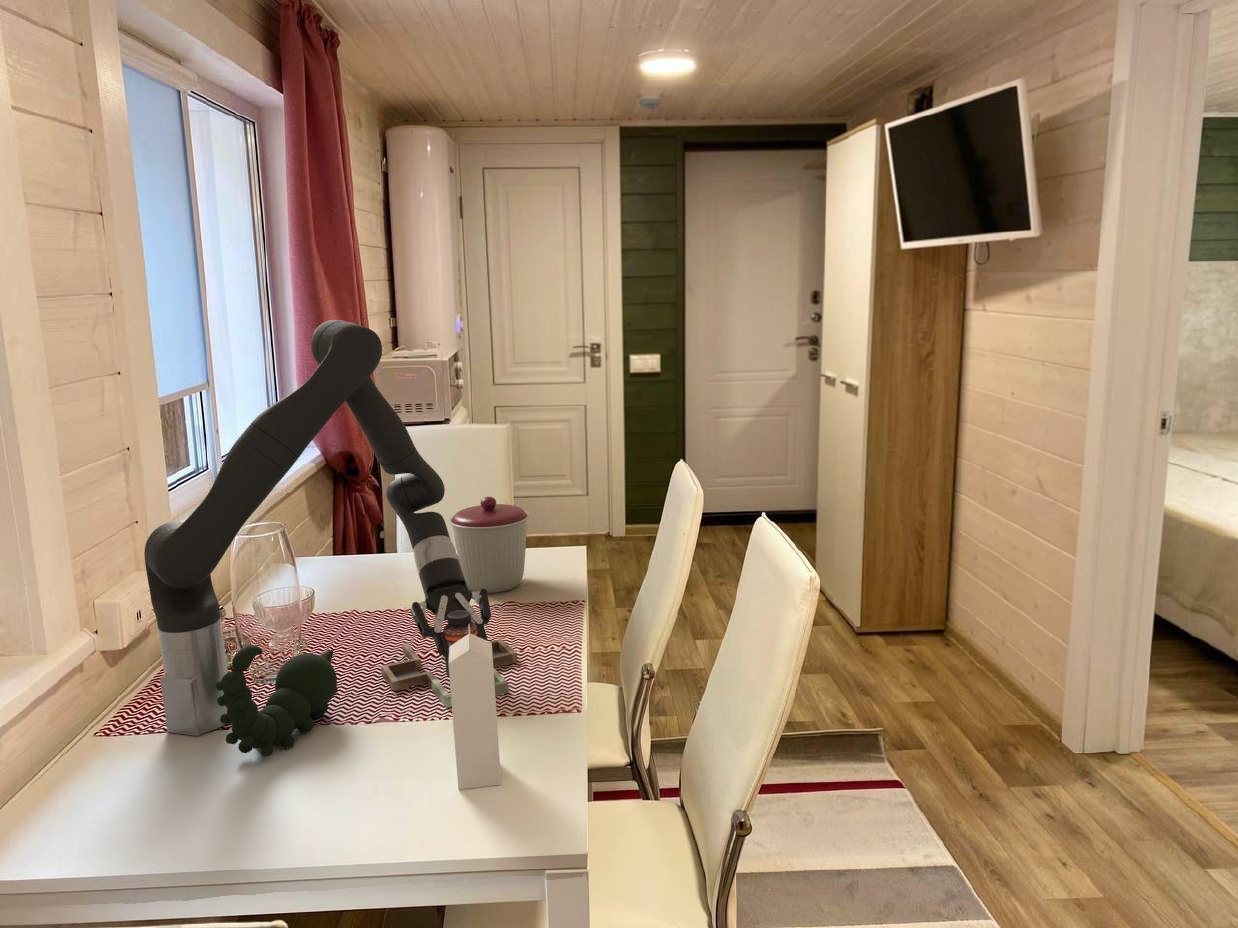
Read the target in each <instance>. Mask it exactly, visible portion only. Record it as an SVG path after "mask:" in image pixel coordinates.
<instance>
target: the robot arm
mask: <svg viewBox="0 0 1238 928" xmlns="http://www.w3.org/2000/svg"><path fill="white" fill-rule="evenodd" d="M310 347H311V354H312V356H313V359H314V360H315V362H316V363H317V365H318V366H317V368H316V369H315V370H314V372H312V374H311V375H310V377H308V379H307V380H306V381H305V382H303V384H302V385H300V386H299V387H298V388H296V389H295V390H294V391H292V392H291V393H289V394H287V395H285V396H284V397H282V398H281V399H279V400H278V401H276V402H275V403H273V404H272V405H270V406H269V407H267V408H266V409H265V410H262V412H260V414H258V415H257V416H256V417H255V418H254V420H252V422H250V424H249V425H248V426H247V428H246V429H245V430H244V431H243V432H242V433H241V435H240V436H239V437H238V438H237V440H236V441H235V442H234V444H233V445H232V447H231V448H230V450H229V451H228V452H227V454H226V456H225V457H224V461H223V462H222V463H221V464H222V465H221V466H220V468H219V471H218V473H217V476H215V477H216V478H215V480H214V482H213V484H212V486H211V488H210V490H209V492H208V493H207V495H206V496H205V498H204V499H202V501H201V503H200V504H199V505H198V506H197V507H196V509H195V510H194V511H193V512H192V513H190V515H189V516H188V517H187V518H186V519H185V521H179V520H178V521H176V520H175V521H170V522H167V523H166V522H165V523H163V524H161V525H159V526H158V527H156V528H155V529H154V530H153V531H152V532H151V533H150V535H149V536H148V538H147V540H146V543H145V545H144V552H143V553H144V555H143V556H144V565H145V571H146V576H147V577H146V578H147V583H148V589H149V590H148V591H149V595H150V601H151V606H152V608H153V612H154V616H155V618H156V624H157V633H158V639H159V645H160V653H161V660H162V666H163V675H161V676H159V683H160V689H161V695H162V703H163V709H164V710H163V711H164V717H165V724H166V730H167V732H168V733H173V734H180V735H181V734H182V735H188V736H193V737H199V736H200V735H203V734H204V733H207V732H212V731H215V730H217V729H219V728H221V727H223V726H225V725H226V724H223V723H221V722H220V717H221V716H222V715H223V714H227V709H228V708H227V707H226V706H220V705H218V703H217V699H218V697H220V696H223V694H224V692H223V691H222V690H217V689H216V683H217V682H219V681H221V679H222V677H223V676H224V675H225V674H226V673H228V672H229V671H228V663H227V657H226V656H227V655H226V648H225V640H224V634H223V633H224V632H223V626H222V625H223V624H222V617H221V608H220V603H219V600H218V598H217V596H216V592H215V589H214V585H213V581H212V575H211V574H212V573H213V572H214V571H215V569H216V568H217V566H219V565H218V564H219V563H220V561H221V560H222V558H223V556H224V555H225V554H226V552H227V550H228V548H229V547H230V546H231V544H232V542H233V541H234V539H235V538H236V536H237V534H238V533H239V532H240V530H241V529H242V527H243V526H244V525H245V523H246V522H247V520H249V518H250V517H251V516H252V514H253V513H255V512H256V511H257V509H259V507H260V505H262V503H263V502H264V501H265V500H266V498H267V497H268V496H269V495H270V494H271V493H272V491H273V490H274V489H275V487H276V486H277V485H278V484H279V483H280V481H281V480H283V478H284V477H285V476H286V475H287V473H288V472H289V471H290V470H291V469H292V467H293V466H294V464H295V463H296V462H297V461H298V460H299V458H300V457H301V455H303V453H304V451H306V448H307V447H308V446H309V445H310V443H312V441H313V440H314V439H315V437H316V436H317V435H318V434H319V433H320V431H321V430H322V429H323V428H324V427H325V425H326V424H327V422H329V420H330V419H331V418H332V416H333V415H334V414H335V413H336V412H337V411H338V409H339V408H340V407H341V406H342V405H343V404H344V403H346V404H347V407H348V408H349V409H350V411H351V412H352V414H353V416H354V417H355V420H356V421H357V423H358V424H359V427H360V428H361V430H362V432H363V433H364V435H365V437H366V439H367V441H368V443H369V445H370V447H371V449H372V451H373V454H374V455H375V457H376V458H377V460H378V462H379V465H380V466H381V468H382V470H383V472H384V473H386V474H389V475H393V476H394V475H403V474H407V475H404V476H401V477H398V478H396V479H393V480H392V481H390V482H389V484H388V486H387V487H386V488H387V489H386V492H385V493H386V499H387V502H388V503H389V505H390V507H391V508H392V509H393V511H394V512H395V514H396V515H397V517H398V518H399V519H400V520H401V523H402V524H403V526H404V529H405V530H406V532H407V536H408V538H409V541H410V542H409V543H410V545H411V547H412V548H411V549H412V552H413V558H414V563H415V567H416V570H417V573H418V574H417V575H418V577H419V581H420V584H421V588H422V591H423V595H424V597H425V599H424V601H421V602H418V601H414V602H413V603H412V605H411V608H410V614H411V616H412V618H413V620H414V623H415V625H416V627H417V630H418V631H419V633H420V636H421V637H422V638H424V639H425V638H432V639H433V640H434V644H435V646H436V650H437V653H438V655H439V656H441V655H442V657H443V658H445V657H448V654H449V649H448V646H447V642H446V639H445V636H444V633H443V624H444V621H448V619H447V615H448V614H449V613H450V612H452V611H456V610H467V611H469V612H470V614H471V622H473V623H475V624H476V626H477V632H478V637H479V638H482V639H484V640H486V641H488V635H487V633H486V629H485V627H484V626H485V625H488V624H489V622H490V620H491V618H492V610H491V607H490V606H491V605H490V601H489V593H487V590H486V589H484V588H483V589H481V591H477V592H475V591H472V590H470V589H469V588H468V587H467V585H466V581H465V578H464V575H463V572H462V569H461V566H460V562H459V557H458V554H457V549H455V548H456V547H455V546H454V544H453V542H452V540H451V537H450V533H449V530H448V527H447V523H446V520H445V518H444V517H443V515H442V514H441V513H439V512H436V511H426V512H418V511H421V510H424V509H426V508H428V507H432V506H434V505H437V504H439V503H440V502H441V501H442V500H443V498H444V497H445V491H446V489H445V484H444V482H443V479H442V478H441V477H440V475H439V474H438V473H437V471H436V470H435V469H434V468H432V466H431V465H430V464H429V463H428V462H427V461H426V460H425V459H424V458H423V456H422V455H421V454H420V453H419V451H418V449H417V447H416V446H415V443H414V442H413V440H412V437H411V435H410V433H409V431H408V429H407V427H406V425H405V423H404V421H402V419H401V417H400V416H399V415H398V413H397V412H396V411H395V409H394V408H393V406H392V405H391V404H390V403H389V401H388V400H387V399H386V398H385V396H384V395H383V394H382V393H381V391H380V390H379V388H378V387H377V385H376V384H375V382H374V381H373V379H372V376H371V375H372V374H373V373H374V372H375V371H376V368H378V366H379V364H380V361H381V359H382V356H383V355H382V354H383V343H382V341H381V338H380V337H379V335H378V334H377V333H376V332H375V331H374V330H372V329H370V328H368V327H367V326H363V325H361V324H358V323H355V322H350V321H348V320H343V319H342V320H341V319H330V320H325V321H324V322H322V323H321V324H320V325H318V326H317V327H316V329H315V330H314V332H313V334H312V337H311V340H310ZM253 515H254V514H253ZM471 600H474V602H475V603H476V604H477V605H478V606H479V613H480V615H479V614H478V613H477V612H476V609H475V608H474V607H473V605H472V604H470V603H471ZM426 609H427V610H428V611H430V612H431V613H432V614H433V615H434V616H435V619H434V624H433V626H430V624H429V622H428V620H427V618H426V616H425V613H426Z"/></svg>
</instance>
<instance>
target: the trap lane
mask: <svg viewBox="0 0 1238 928" xmlns="http://www.w3.org/2000/svg"><path fill="white" fill-rule="evenodd" d="M489 642H491V643H492V655H493V670H494V684H495V697H497V696H499V695H504V694H508V693H509V692H510V690H509V681H507V680H506V678H504V677H503V676H502V674H500V673H499V672H498V671H497V669H495V668H499V667H503V666H507V665H510V664H511V665H512V664H515V663H518V653H517V652H516V651H515V650H514V649H513V648H512V647H511V646H510V645H509V644H508V643H507V642H505V641H504V640H503V639H502V638H499V639H494V640H490V641H489ZM401 648H402V654H403V653H404V654H405V655H406V656H405V655H404V654H403V655H404V656H405V657H407V658H408V659H409V660H408V659H407V658H406V660H405V659H404V660H401V661H397V662H392V663H388V664H383V665H380V668H381V676H382V678H383V679H384V678H385V679H384V680H385V682H386V681H387V682H386V684H387V685H388V684H389V685H388V686H389V688H390V687H391V688H390V689H391V690H393V691H395V692H397V690H399V691H402V690H401V689H403V690H406V688H407V689H410V688H409V687H411V688H414V687H413V686H415V687H418V686H417V685H420V686H423V684H424V685H428V687H429V688H430V689H431V691H432V692H433V693H434V694H435V695H436V697H437V698H438V699H439V700H440V702H441V703H442V705H444V707H445V708H446V709H448V708H452V702H451V693H450V692H448V690H447V689H446V688H445V687H444V685H442V683H441V682H440V681H439V679H438V678H437V677H436V676H435V675H434V673H433V672H432V671H431V670H428V671H425V672H424V671H423V672H420V671H419V670H420V668H421V669H422V660H421V658H420V656H419V655H418V654H417V652H415V650H414V649H413V648H412V647H411V646H410V644H409V643H408V642H405V643H402V644H401ZM393 691H392V692H393Z"/></svg>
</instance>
